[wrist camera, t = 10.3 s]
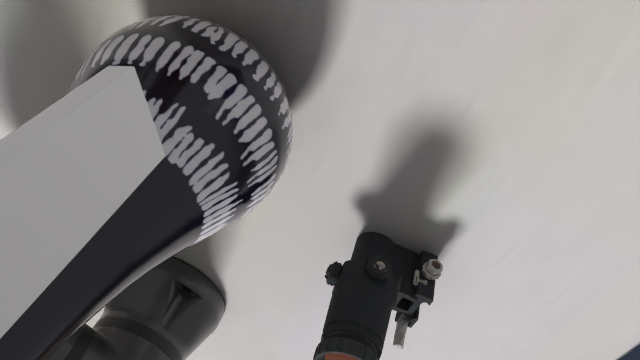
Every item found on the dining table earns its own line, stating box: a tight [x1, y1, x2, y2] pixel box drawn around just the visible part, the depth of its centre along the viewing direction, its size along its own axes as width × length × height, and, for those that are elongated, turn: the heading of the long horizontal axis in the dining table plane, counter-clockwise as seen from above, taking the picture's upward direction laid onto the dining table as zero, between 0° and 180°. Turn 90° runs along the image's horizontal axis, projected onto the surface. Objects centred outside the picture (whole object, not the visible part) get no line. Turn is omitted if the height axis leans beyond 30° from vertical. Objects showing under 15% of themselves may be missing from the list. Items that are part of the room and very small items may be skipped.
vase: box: [0, 15, 293, 360], centre depth 29 cm, size 16×16×30 cm
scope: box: [313, 232, 443, 360], centre depth 42 cm, size 8×14×10 cm
